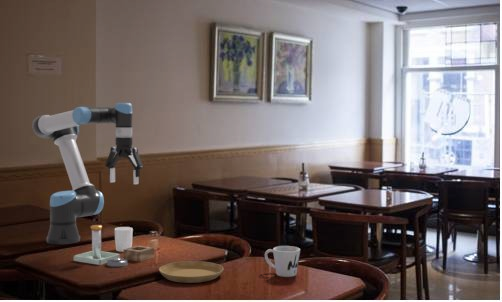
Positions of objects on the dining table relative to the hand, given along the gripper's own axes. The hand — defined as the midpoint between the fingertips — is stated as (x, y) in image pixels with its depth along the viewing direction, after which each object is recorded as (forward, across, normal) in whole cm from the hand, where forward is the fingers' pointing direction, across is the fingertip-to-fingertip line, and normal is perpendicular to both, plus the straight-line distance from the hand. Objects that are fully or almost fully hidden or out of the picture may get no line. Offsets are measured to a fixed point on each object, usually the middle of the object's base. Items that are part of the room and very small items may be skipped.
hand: (124, 183), depth 286 cm
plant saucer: (+29, +56, -29) cm, 69 cm away
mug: (+29, +84, -9) cm, 89 cm away
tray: (+29, +10, -29) cm, 42 cm away
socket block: (+29, +22, -18) cm, 41 cm away
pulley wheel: (+29, +22, -31) cm, 48 cm away
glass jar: (+28, +10, -29) cm, 41 cm away
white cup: (+29, +7, -9) cm, 31 cm away
